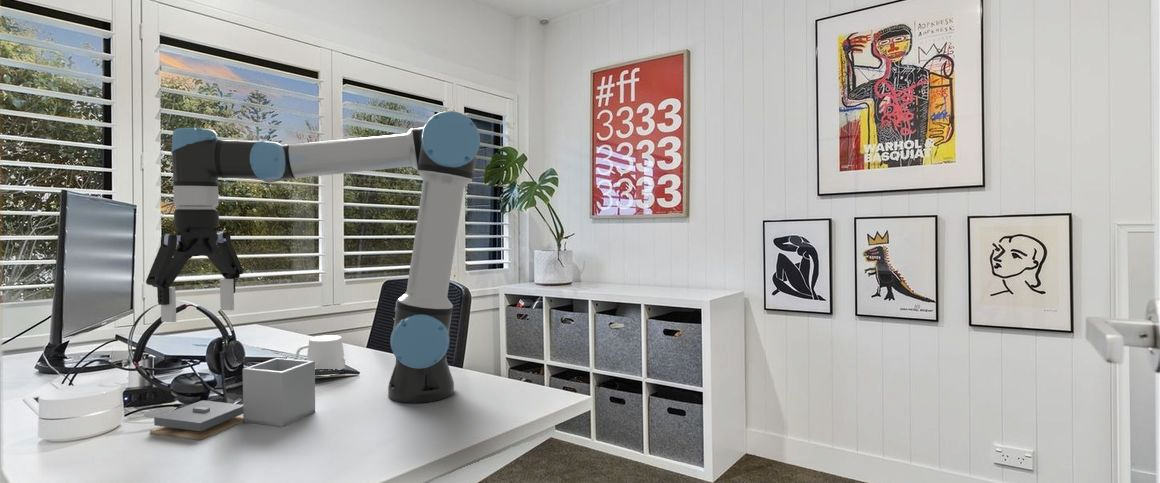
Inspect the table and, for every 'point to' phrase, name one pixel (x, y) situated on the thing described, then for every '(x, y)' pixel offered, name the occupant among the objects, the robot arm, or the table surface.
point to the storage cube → (278, 391)
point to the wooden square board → (197, 434)
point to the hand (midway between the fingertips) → (199, 315)
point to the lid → (199, 415)
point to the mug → (325, 352)
